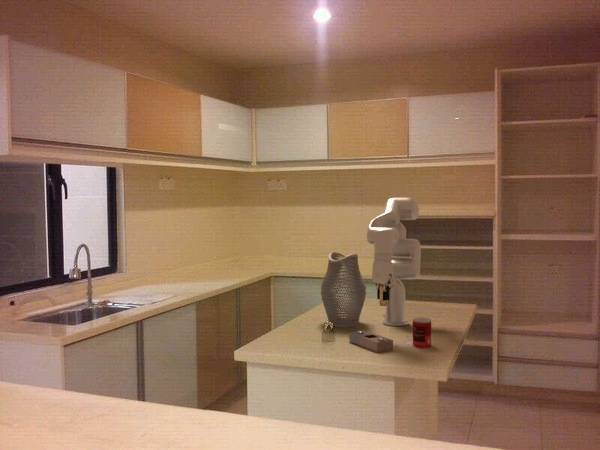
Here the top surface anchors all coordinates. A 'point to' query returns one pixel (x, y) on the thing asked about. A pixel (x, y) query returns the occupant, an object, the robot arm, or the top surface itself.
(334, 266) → the vase
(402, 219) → the robot arm
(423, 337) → the canned food
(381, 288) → the pin
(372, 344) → the bolted slotted plate
